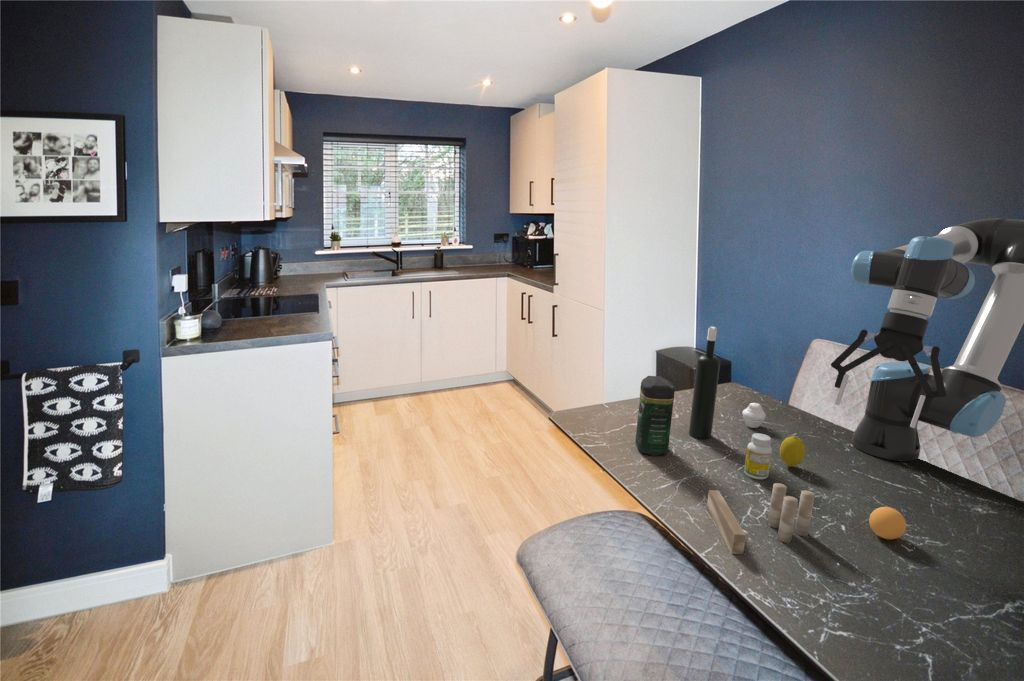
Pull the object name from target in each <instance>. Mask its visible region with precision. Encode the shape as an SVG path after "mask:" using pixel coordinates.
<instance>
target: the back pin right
mask: <svg viewBox="0 0 1024 681" xmlns="http://www.w3.org/2000/svg"><path fill="white" fill-rule="evenodd" d="M787 489H788V487H787V485H786V484H783V483H781V482H780V483H779V482H775V483H773V485H772V491H771V492H772V493H771V498H770V503H769V509H768V515H767V516H768V517H767V522H766V524H767V525H768V527H770V528H774V529H779V525H780V519H781V513H782V507H783V501H784V497H785V496H787Z"/></svg>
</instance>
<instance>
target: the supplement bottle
mask: <svg viewBox="0 0 1024 681" xmlns="http://www.w3.org/2000/svg"><path fill="white" fill-rule="evenodd" d="M771 442H772V438H771V437H770V435H767V434H764V433H758V432H757V433H753V434H751V441H750V442H749V443H748V444H747V446H746V454H745V460H744V467H743V472H744V474H745V475H746V476H747V477H749V478H751V479H755V480H765V479H767V478H768V477H769V474H770V473H769V472H770V467H771V461H772V456H773V455H772V454H773V448H772V446H771V445H770V444H771Z"/></svg>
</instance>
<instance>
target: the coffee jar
mask: <svg viewBox="0 0 1024 681" xmlns="http://www.w3.org/2000/svg"><path fill="white" fill-rule="evenodd" d="M675 390H676V389H675V387H674V385H673V384H672V382H671V381H669V380H668V379H666V378H664V376H661V375H660V376H657V375H647V376H645V378H643V379H642V380H641V382H640V388H639V391H640V392H639V402H638V414H637V422H636V423H637V424H636V431H635V433H636V434H635V439H634V440H635V445H636V448H637V449H638V451H639V452H641V453H642V454H646V455H650V456H660V455H666V454H668V452H669V447H670V446H669V445H670V436H671V425H672V416H673V408H674V403H675V402H674V401H675Z"/></svg>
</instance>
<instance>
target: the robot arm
mask: <svg viewBox="0 0 1024 681" xmlns="http://www.w3.org/2000/svg"><path fill="white" fill-rule="evenodd" d="M966 264H971V265H972V264H974V265H975V264H976V265H982V266H990V267H991V272H992V273H993V274H994V275H995V277H994V280H993V282H992V284H991V285H990V286H991V287H990V289H989V291H988V293H987V295H986V297H985V298H984V301H983V303H982V305H981V307H980V310H979V311H978V313H977V315H976V318H975V320H974V322H973V324H972V326H971V328H970V330H969V333H968V334H967V337H966V338H965V341H964V342H963V345H962V346H961V349H960V351H959V352H958V356H957V358H956V359H955V361H954V363H953V365H949V366H946V367H944V368H943V369H941V366H940V362H939V355H940V347H939V346H929V345H924V338H925V334H926V332H927V329H928V326H929V324H930V323H929V320H928V319H929V318H931V317H932V314H933V312H934V310H935V309H934V308H935V307H936V306H935V305H936V304H937V301H938V298H942V299H948V300H955V299H959V298H962V297H964V296H966V295H968V294H969V293H970V292H971V291H972V290H973V288H974V286H975V283H976V278H975V277H976V276H975V274H974V272H973V270H972V269H970V268H969V266H967V265H966ZM850 273H851V276H852V279H853V280H854V281H855V282H857V283H861V284H865V285H868V286H875V287H876V286H877V287H881V288H888V289H889V288H891V289H892V293H891V294H890V295H891V296H890V298H889V301H888V304H887V309H888V310H889V311H886V312H885V313H884V316H883V320H882V322H881V325H880V328H879V331H878V332H877V333H873V332H871V331H868V330H867V329H862V330H861V331H860V332H859V335H858V337H857V338H856V339H855V341H853V342H852V343H851V344H850V345H849V346H848V347H847V348H846V349H844V351H843V352H841V353H840V355H838V356H837V357H836V358H835V359H834V360H833V361H832V362H831V363H830V366H831V368H833V369H835V370H836V371H837V376H836V379H835V382H834V388H836V389H839V390H838V393H837V396H836V399H835V402H834V405H836V406H839V405H840V404H841V402H842V398H843V395H844V392H845V389H846V386H847V384H848V380H849V378H850V375H849V374H846V373H847V372H849V371H851V370H853V369H854V368H856V367H858V366H860V365H862V364H864V363H865V362H867V361H869V360H870V359H872V358H875V357H876V356H878V355H879V354H880V355H881V356H882V357H883V358H886V359H894V360H896V361H891V362H890V361H887V362H882V363H878V364H877V365H876V366H875V367H874V369H873V372H872V376H871V378H870V385H869V389H868V395H867V401H866V404H865V411H864V415H863V417H862V419H861V420H860V422H859V424H858V425H857V427H856V429H855V430H854V431H853V433H852V437H851V444H852V445H853V447H855V448H856V449H858V450H859V451H862V452H864V453H865V454H869V455H871V456H874V457H876V458H881V459H885V460H890V461H891V460H892V461H896V462H897V461H898V462H899V461H900V462H911V461H915V460H918V459H919V458H920V453H921V443H920V438H919V432H918V431H919V430H918V424H919V422H922V423H925V424H928V425H931V426H934V427H936V428H940V429H944V430H947V431H950V432H951V433H953V434H957V435H958V434H959V435H962V436H966V437H970V438H978V437H982V436H983V435H985V434H987V433H989V432H990V431H991V430H992V429H993V428H994V427H995V425H997V423H998V421H999V420H1000V418H1002V417H1001V416H1002V415H1003V412H1004V408H1005V406H1006V403H1007V402H1006V401H1007V400H1006V396H1005V395H1004V394H1003V393H1002V392H1001V390H1002V388H1003V385H1001V382H1000V381H999V380H998V378H999V376H1000V373H1001V371H1002V369H1003V367H1004V365H1005V363H1006V361H1007V359H1008V356H1009V354H1010V353H1011V350H1012V348H1013V346H1014V344H1015V341H1016V340H1017V338H1018V336H1019V333H1020V332H1021V329H1022V327H1023V325H1024V219H1016V218H1015V219H1014V218H1004V217H1003V218H1002V217H1001V218H1000V217H996V218H995V217H993V218H983V219H978V220H972V221H967V222H963V223H960V224H956V225H952V226H949V227H947V228H945V229H943V230H941V231H940V232H939V233H938V234H937V235H935V236H926V235H925V236H916V237H913V238H912V239H910V241H909V243H908V244H906V245H902V246H898V247H894V248H892V249H889V250H886V251H878V250H877V251H876V250H862V251H860V252H859V253H857V254H856V255H855V257H854V259H853V261H852V263H851V272H850ZM927 318H928V319H927ZM872 339H873V340H874V343H875V346H876V347H875V348H874V349H871V350H870V351H868V352H867V353H864V354H862V355H860V357H858V358H856V359H854V360H851V362H849V363H848V364H845V365H844V366H843V365H842V363H843V362H844V361H845V360H847V359H848V358H849V357H850V356H851V355H852V354H853V353H854V352H855V351H856V350H857V349H858V348H859V347H860V346H861V345H862V344H863V343H864V342H870V340H872ZM921 352H925V355H926V357H928V358H929V360H930V366H931V370H930V367H928V365H924V364H921V363H918V362H917V360H916V358H915V356H916V355H918V354H919V353H921ZM906 361H907V362H906ZM931 371H932V374H930V373H931Z"/></svg>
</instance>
